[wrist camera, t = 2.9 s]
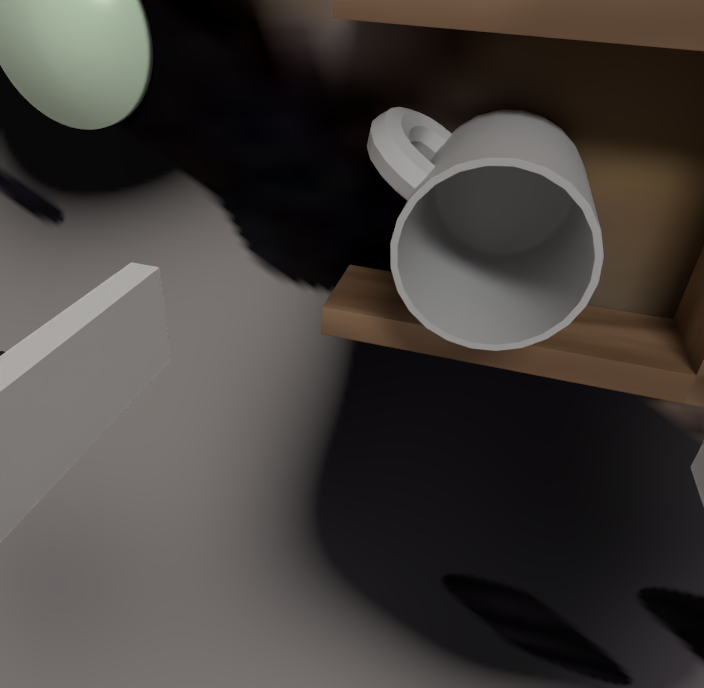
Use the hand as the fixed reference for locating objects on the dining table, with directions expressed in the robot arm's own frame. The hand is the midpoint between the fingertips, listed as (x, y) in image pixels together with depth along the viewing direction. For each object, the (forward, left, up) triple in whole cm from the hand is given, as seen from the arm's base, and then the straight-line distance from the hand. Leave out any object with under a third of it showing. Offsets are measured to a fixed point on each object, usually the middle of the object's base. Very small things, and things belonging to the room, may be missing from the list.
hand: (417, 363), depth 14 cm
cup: (0, 0, -17) cm, 17 cm away
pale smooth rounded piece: (-4, -21, -17) cm, 27 cm away
